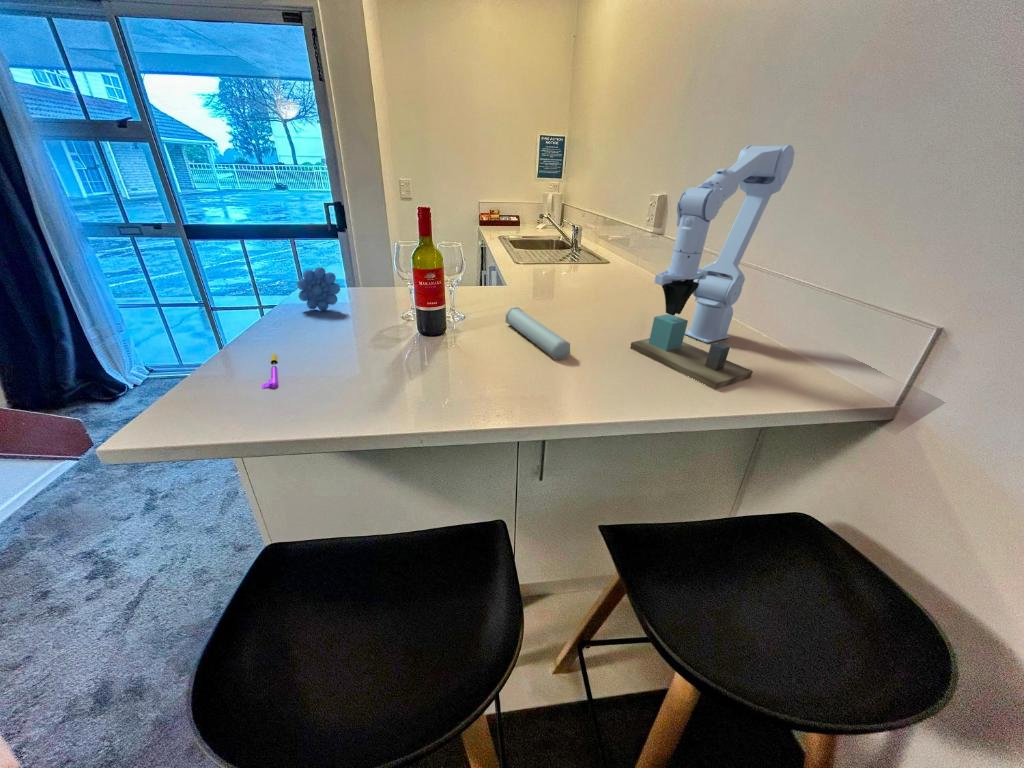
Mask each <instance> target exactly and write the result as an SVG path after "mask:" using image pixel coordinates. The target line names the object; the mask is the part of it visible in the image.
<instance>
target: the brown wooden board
mask: <svg viewBox="0 0 1024 768" xmlns="http://www.w3.org/2000/svg"><path fill="white" fill-rule="evenodd" d="M649 339H650V337H649V338H644V339H640V340H636V341H631V343H630V347H629V348H630V349H632V350H633V351H635V352H637V353H639V354H642V355H644V356H646V357H647V358H650V359H652V360H653V361H655V362H657V363H660V364H662V365H663V366H666V367H668V368H669V369H672V370H673V371H676V372H677V373H680V374H682V375H684V376H686V377H688V376H689V377H688V378H691V379H692V378H693V379H692V380H694V379H695V380H694V381H696V380H697V381H696V382H698V381H699V383H700V382H701V383H700V384H702V383H703V385H704V384H705V385H704V386H706V385H707V386H706V387H708V388H710V389H712V390H714V391H715V390H720V389H722V388H724V387H728V386H730V385H734V384H737V383H740V382H742V381H745V380H748V379H751V378H752V376H753V373H754V371H753V370H752V369H751V370H750V369H749V368H746V367H744V366H741V365H739V364H737V363H734V362H732V361H729V360H728V359H726V362H725V365H724V368H723V369H720V370H717V371H714V370H712V369H710V368H708V367H706V366H705V363H706V360H707V357H708V353H709V351H706V350H704V349H702V348H699V347H696V346H694V345H691V344H689V343H687V342H685V341H683V342H682V346H681V348H677V349H673V350H669V351H664V350H662V349H660V348H658V347H656V346H653V345H651V344H649Z"/></svg>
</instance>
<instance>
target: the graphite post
mask: <svg viewBox="0 0 1024 768" xmlns="http://www.w3.org/2000/svg"><path fill="white" fill-rule="evenodd" d="M730 348H731V346H729V345H727V344H724V343H722V342H721V341H720V342H719V341H718V342H715V343H711V344H710V347H709V351H708V357H707V360H706V363H705V366H706V367H708V368H710V369H712V370H714V371H717V370H720V369H723V368H724V365H725V362H726V360H728V359H727V357H728V355H729V353H730Z"/></svg>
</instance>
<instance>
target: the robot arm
mask: <svg viewBox="0 0 1024 768" xmlns="http://www.w3.org/2000/svg"><path fill="white" fill-rule="evenodd" d="M794 159H795V149H794V147H793V145H792V144H787V145H749V144H748V145H746V146H745V147H744V148H742V149H740V152H739V155H738V157H737V160H736V162H735V163H733V164H732V165H731V166H730V167H729V168H725V167H724V168H718V169H717V170H716V171H715V173H714V174H713V175H711V176H710V177H709V178H708V179H706V180H704V181H703V182H702V183H701V184H700V185H698V186H697V187H694V186H693V187H689V188H688V189H686V190H685V191H683V192H682V193H681V195H680V197H679V200H678V202H677V205H676V214H677V219H676V226H677V227H678V229H677V232H676V237H675V242H674V245H673V251H672V254H671V255H672V256H671V259H670V264H669V267H668V268H665V271H662V272H660V273H656V274H655V278H654V282H653V284H655V285H659V286H661V288H662V291H663V294H664V301H665V303H664V304H665V313H666V314H670V315H674V316H676V315H680V314H681V313H682V312H683V309H684V308H685V306H686V304H687V302H688V300H689V298H690V297H691V296H692V295H693V297H694V298H695V299H694V301H696V305H695V310H694V313H693V317H692V320H691V324H690V327H689V329H686V331H685V334H684V336H685V335H686V336H687V337H691V338H693V339H696V340H698V341H701V342H703V343H706V344H709V343H713V342H717V341H718V342H719V341H720V340H725V339H729V338H730V335H729V334H728V332H729V328H730V325H731V323H732V319H733V316H734V308H733V305H735V304H736V303H737V302H738V300H739V298H740V296H741V294H742V289H743V285H744V283H745V280H746V278H745V277H746V276H745V274H744V273H743V271H742V270H741V269H740V267H739V265H740V263H741V260H742V258H743V257H744V255H745V252H746V250H747V247H748V246H749V243H750V241H751V240H752V238H753V235H754V233H755V231H756V228H757V226H758V224H759V222H760V221H761V218H762V216H763V213H764V212H765V210H766V207H767V205H768V203H769V201H770V199H771V197H772V195H775V194H776V193H778V192H780V191H781V189H782V187H783V185H784V184H785V182H786V180H787V178H788V175H789V174H790V171H791V170H792V168H793V164H794ZM738 189H740V190H741V191H743V192H744V193H745V194H746V195H745V198H744V201H743V202H742V204H741V207H740V209H739V211H738V214H737V215H736V218H735V220H734V222H733V224H732V227H731V229H730V231H729V233H728V235H727V237H726V240H725V242H724V244H723V246H722V248H721V250H720V252H719V256H718V257H717V259H716V260H715V261H714V262H713V261H712V262H711V263H709V264H707V265H705V266H703V268H699V266H700V263H701V260H702V255H703V253H704V247H705V243H706V240H707V236H708V232H709V228H710V224H711V221H713V220H715V218H716V217H717V216H718V214H719V212H720V210H721V208H722V207H723V205H724V203H725V202H726V201H727V200H728V199H729V198H731V197H732V196H733V195H734V194H735V193H736V192H737V190H738Z"/></svg>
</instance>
